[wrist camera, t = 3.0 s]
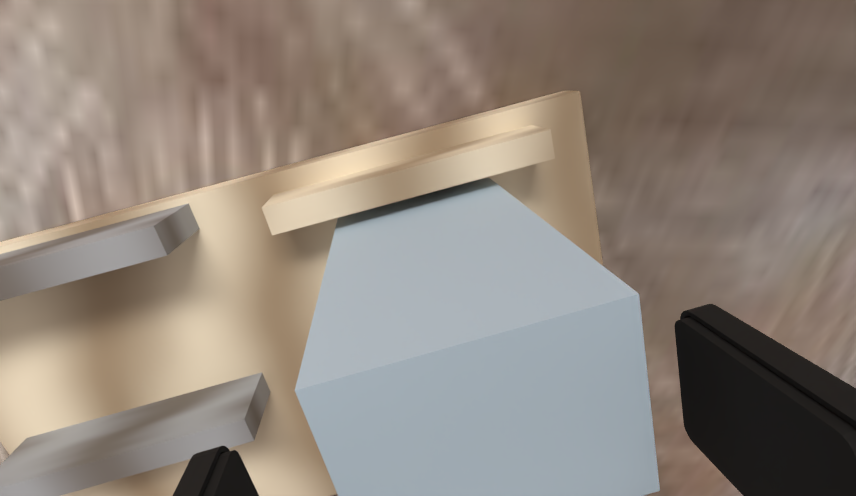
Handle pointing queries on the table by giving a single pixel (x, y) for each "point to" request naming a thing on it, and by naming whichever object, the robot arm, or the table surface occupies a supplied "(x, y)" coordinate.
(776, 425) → the robot arm
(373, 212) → the light blue block
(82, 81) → the table surface
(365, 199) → the rack
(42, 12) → the table surface
